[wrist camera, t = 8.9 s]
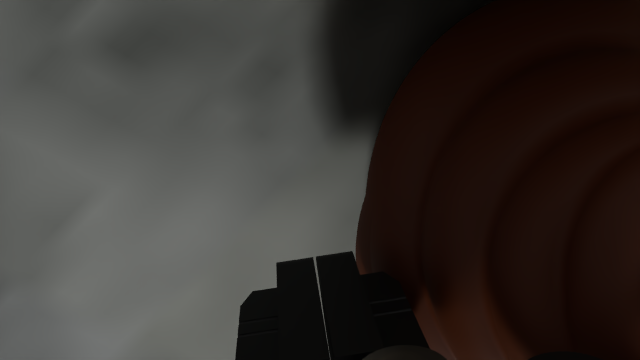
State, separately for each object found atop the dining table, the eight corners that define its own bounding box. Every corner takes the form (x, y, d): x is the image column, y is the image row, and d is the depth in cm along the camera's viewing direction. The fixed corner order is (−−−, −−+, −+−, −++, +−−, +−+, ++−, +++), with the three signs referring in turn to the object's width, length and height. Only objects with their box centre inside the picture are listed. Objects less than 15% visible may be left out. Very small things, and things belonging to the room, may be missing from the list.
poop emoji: (395, -47, 13) (668, -144, 4) (751, 20, 14) (1591, 60, 5) (319, 356, 16) (382, 826, 7) (621, 388, 17) (1020, 831, 8)
